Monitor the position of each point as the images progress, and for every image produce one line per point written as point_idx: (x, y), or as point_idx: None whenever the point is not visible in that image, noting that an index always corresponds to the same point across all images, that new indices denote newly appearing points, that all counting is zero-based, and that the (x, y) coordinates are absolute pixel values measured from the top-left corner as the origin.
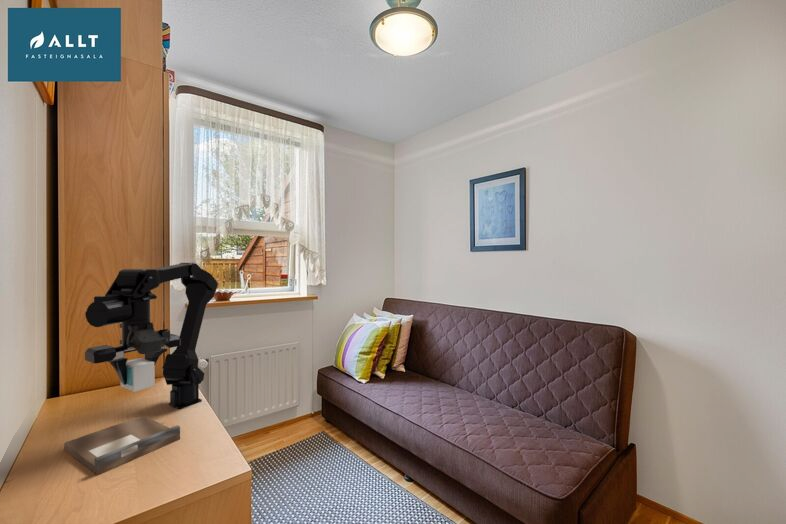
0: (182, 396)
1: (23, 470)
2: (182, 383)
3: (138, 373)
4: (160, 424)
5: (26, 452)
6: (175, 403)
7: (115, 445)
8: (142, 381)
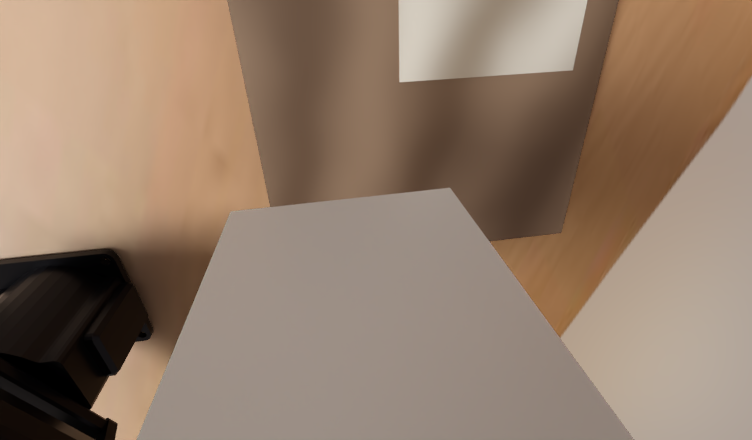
0: (67, 307)
1: (662, 169)
2: (12, 379)
3: (479, 353)
4: (251, 80)
5: (590, 285)
6: (123, 291)
7: (496, 9)
8: (377, 252)
